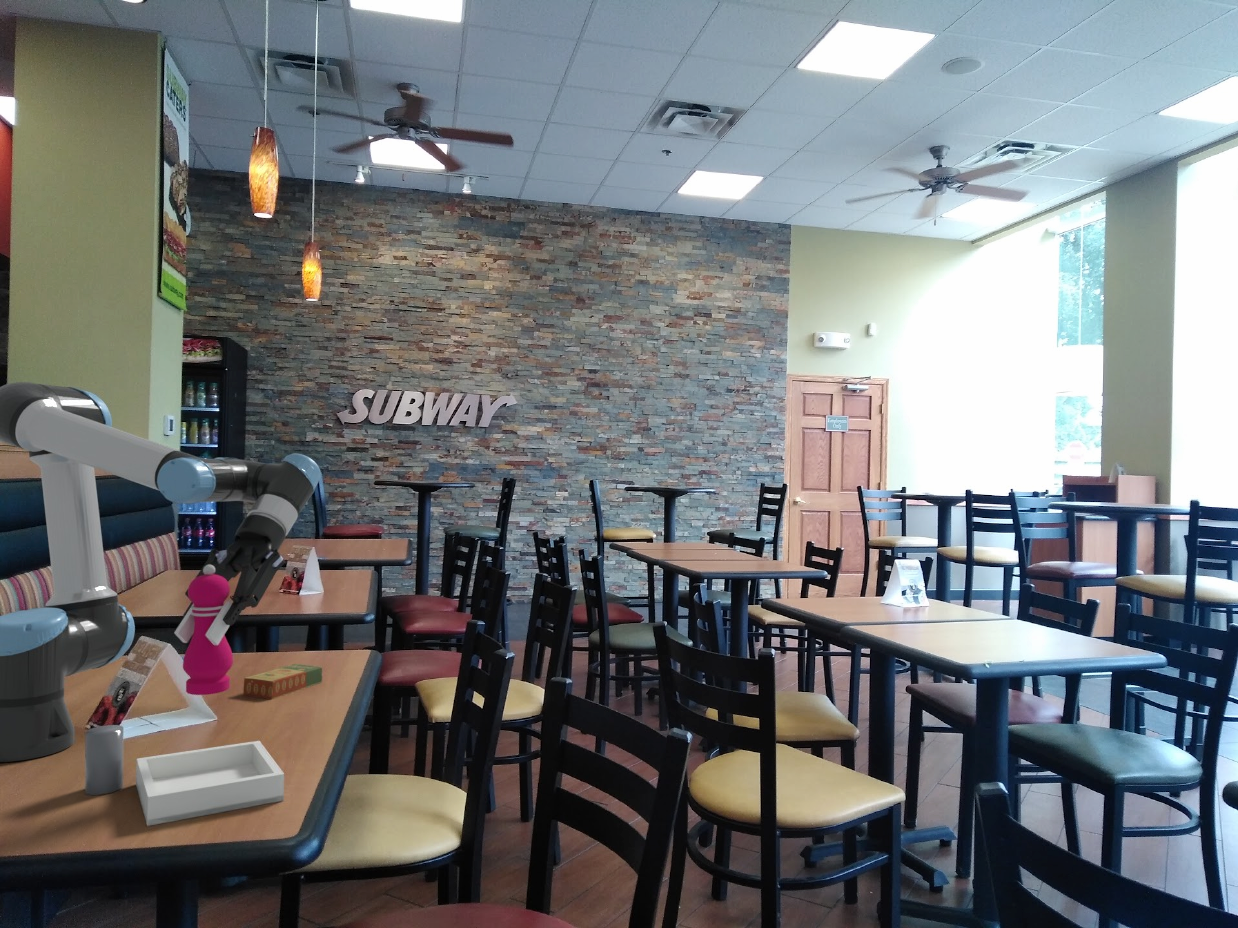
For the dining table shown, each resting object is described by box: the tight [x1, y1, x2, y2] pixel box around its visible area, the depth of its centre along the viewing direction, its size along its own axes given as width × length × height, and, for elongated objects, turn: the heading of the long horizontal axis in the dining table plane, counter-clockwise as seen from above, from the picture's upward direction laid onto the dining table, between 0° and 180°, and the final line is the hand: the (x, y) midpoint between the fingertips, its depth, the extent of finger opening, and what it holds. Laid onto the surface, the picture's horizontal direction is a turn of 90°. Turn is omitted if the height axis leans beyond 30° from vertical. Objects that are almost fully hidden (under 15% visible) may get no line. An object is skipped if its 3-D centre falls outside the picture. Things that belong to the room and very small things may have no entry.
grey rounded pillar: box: [84, 724, 124, 796], centre depth 130 cm, size 5×5×9 cm
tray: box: [135, 740, 285, 827], centre depth 130 cm, size 18×18×4 cm
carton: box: [242, 663, 323, 700], centre depth 190 cm, size 8×16×4 cm, turn 160°
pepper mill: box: [182, 565, 234, 696], centre depth 135 cm, size 7×7×20 cm
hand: (196, 638), depth 132 cm, fingers closed on pepper mill, 5 cm apart
